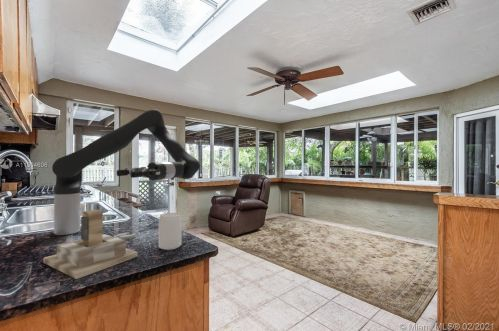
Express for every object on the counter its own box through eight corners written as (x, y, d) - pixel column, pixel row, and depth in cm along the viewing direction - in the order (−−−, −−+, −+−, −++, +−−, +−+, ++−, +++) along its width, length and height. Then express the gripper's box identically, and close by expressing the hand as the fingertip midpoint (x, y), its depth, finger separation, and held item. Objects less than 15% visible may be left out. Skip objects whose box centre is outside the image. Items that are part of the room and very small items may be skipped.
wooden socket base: (43, 262, 73) (43, 244, 73) (103, 245, 89) (103, 230, 89) (76, 279, 63) (76, 258, 63) (137, 256, 79) (137, 239, 79)
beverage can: (186, 245, 90) (186, 213, 90) (169, 252, 83) (169, 218, 83) (170, 241, 94) (170, 211, 94) (153, 248, 87) (153, 215, 86)
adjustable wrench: (61, 255, 80) (61, 250, 80) (58, 250, 85) (57, 245, 85) (137, 238, 99) (137, 234, 99) (131, 235, 103) (131, 230, 103)
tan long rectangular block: (80, 256, 75) (80, 211, 74) (95, 251, 79) (95, 209, 79) (87, 258, 73) (87, 213, 73) (102, 253, 77) (102, 210, 77)
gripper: (150, 161, 103) (112, 162, 89) (173, 162, 95) (135, 164, 81) (150, 178, 103) (112, 182, 89) (173, 181, 96) (136, 186, 82)
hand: (123, 173), depth 85 cm, fingers open, 8 cm apart
